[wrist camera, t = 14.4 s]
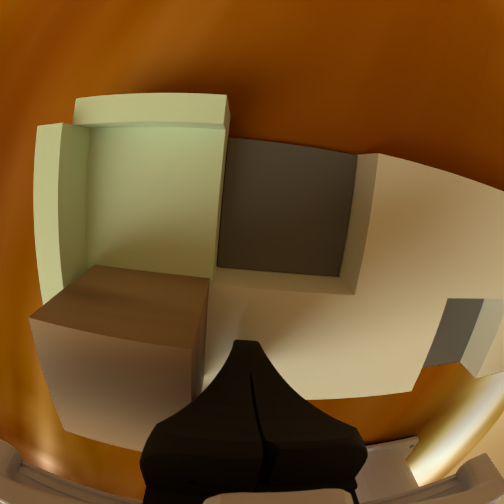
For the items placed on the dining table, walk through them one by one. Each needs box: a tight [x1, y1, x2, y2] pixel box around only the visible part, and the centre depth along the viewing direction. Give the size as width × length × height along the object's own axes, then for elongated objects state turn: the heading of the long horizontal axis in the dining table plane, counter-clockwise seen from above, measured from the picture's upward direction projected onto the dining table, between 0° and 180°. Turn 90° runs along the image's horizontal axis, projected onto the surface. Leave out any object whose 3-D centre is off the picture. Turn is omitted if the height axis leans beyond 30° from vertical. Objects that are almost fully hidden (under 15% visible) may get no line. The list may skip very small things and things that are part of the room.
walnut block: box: [29, 265, 210, 452], centre depth 10 cm, size 5×5×5 cm
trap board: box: [34, 93, 504, 400], centre depth 13 cm, size 14×31×5 cm, turn 84°
